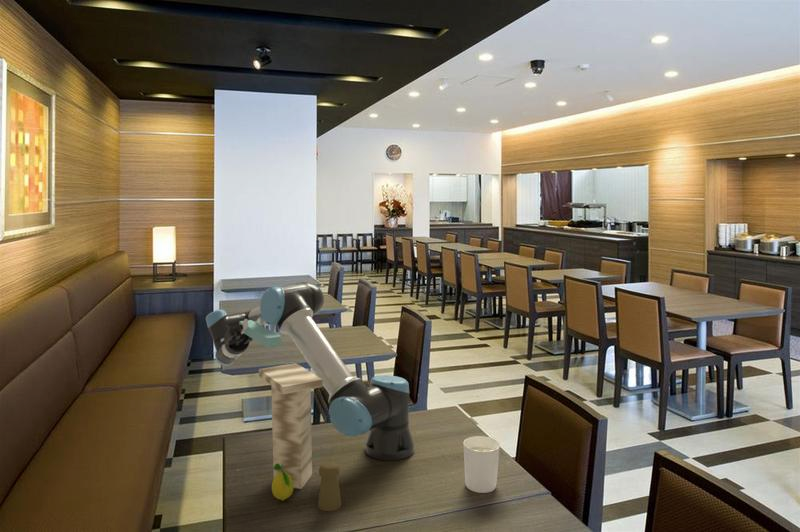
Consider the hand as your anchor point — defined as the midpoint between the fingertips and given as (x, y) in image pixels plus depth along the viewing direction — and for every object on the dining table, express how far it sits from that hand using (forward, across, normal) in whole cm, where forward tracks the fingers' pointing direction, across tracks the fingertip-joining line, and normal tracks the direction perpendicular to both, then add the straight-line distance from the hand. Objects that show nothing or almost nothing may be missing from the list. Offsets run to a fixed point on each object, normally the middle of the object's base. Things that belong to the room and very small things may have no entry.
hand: (254, 322), depth 177 cm
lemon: (+13, +6, -53) cm, 55 cm away
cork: (+20, -3, -57) cm, 61 cm away
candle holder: (+32, -42, -64) cm, 83 cm away
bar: (+2, 0, -6) cm, 6 cm away
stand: (+5, 0, -48) cm, 48 cm away
